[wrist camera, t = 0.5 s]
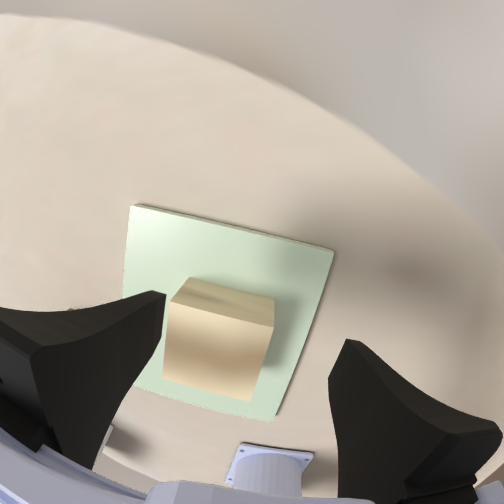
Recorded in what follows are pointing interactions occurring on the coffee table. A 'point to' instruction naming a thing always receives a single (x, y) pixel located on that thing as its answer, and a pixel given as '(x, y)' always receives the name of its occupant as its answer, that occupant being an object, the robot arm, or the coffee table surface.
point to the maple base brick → (217, 338)
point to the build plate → (232, 276)
